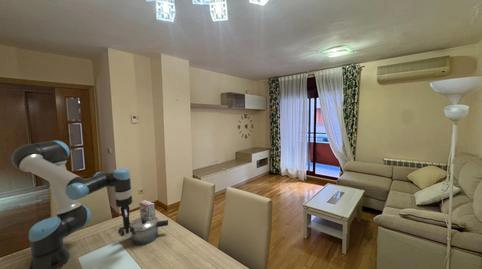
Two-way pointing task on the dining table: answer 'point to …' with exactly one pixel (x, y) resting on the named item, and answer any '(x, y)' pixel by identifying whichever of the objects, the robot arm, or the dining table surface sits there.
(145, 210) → the candy bar box
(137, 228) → the lid
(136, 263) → the dining table surface
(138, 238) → the pot
